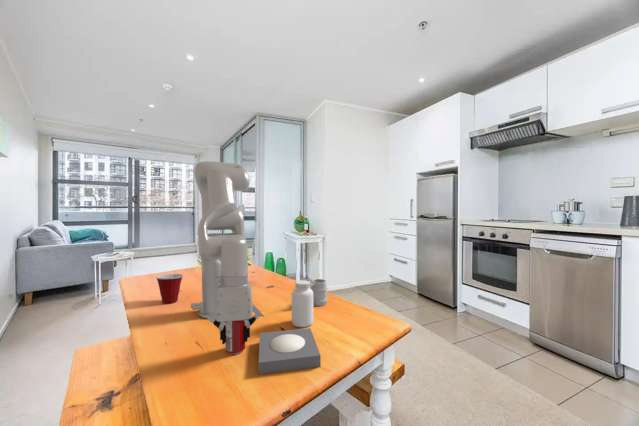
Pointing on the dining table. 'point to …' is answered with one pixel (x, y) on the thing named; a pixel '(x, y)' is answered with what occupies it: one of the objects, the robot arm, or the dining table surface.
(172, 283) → the plastic cup
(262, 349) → the base
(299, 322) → the pill bottle
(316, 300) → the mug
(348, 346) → the dining table surface
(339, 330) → the dining table surface
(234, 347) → the soda can
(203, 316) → the robot arm
